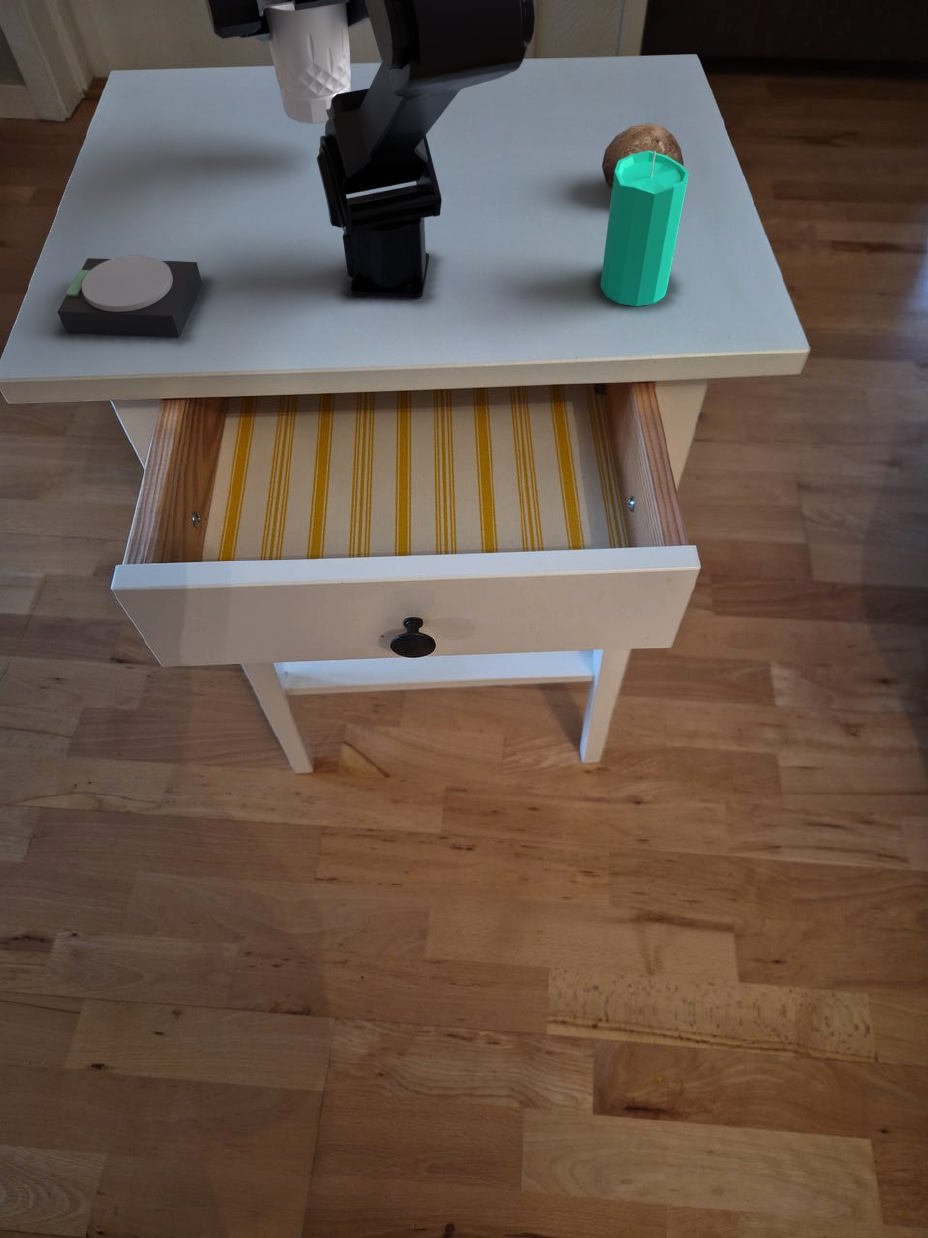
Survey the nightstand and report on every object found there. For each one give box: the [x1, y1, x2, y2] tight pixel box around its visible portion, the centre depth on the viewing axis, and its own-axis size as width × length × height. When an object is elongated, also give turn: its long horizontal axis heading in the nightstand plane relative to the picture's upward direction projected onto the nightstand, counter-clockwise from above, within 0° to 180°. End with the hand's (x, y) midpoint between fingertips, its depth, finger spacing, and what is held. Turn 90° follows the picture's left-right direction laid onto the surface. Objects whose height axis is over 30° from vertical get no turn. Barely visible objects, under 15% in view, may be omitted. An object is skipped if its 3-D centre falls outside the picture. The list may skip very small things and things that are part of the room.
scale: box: [56, 254, 203, 339], centre depth 79 cm, size 10×8×3 cm
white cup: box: [264, 3, 352, 125], centre depth 87 cm, size 8×8×10 cm
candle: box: [599, 151, 690, 307], centre depth 76 cm, size 6×6×12 cm
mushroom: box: [601, 122, 685, 191], centre depth 89 cm, size 8×8×6 cm
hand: (304, 30), depth 86 cm, fingers closed on white cup, 7 cm apart
